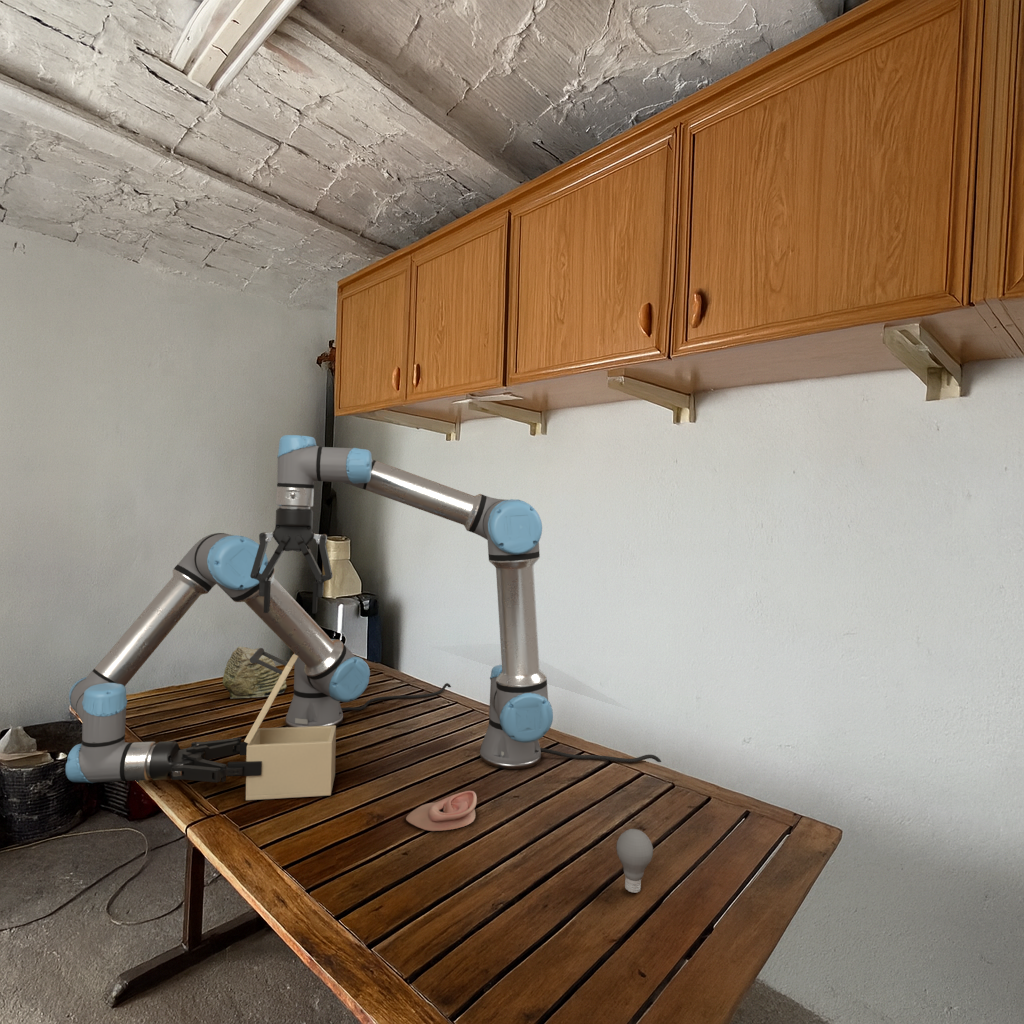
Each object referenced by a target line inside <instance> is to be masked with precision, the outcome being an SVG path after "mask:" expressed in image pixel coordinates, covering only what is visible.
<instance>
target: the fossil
mask: <svg viewBox="0 0 1024 1024" xmlns="http://www.w3.org/2000/svg"><path fill="white" fill-rule="evenodd" d="M259 648H260V647H258V648H251V647H247V646H246V647H245V646H238V647H237V648H236V649H235V650H233V651H232V653H231V656H230V657H229V659H228V660H227V663H226V666H225V668H224V671H223V675H222V676H223V677H222V685H223V687H224V688H225V690H226V691H228V693H229V698H230V699H250V698H264V697H269V695H270V694H271V692H272V690H273V688H274V686H275V685H276V683H277V681H278V679H279V677H280V676H281V674H279V673H277V672H275V671H272V670H270V669H268V668H266V667H264V666H262V665H260V664H257V663H251V662H250V658H251V657H252V656H253V654H254V653H255V652H256V651H257V650H258V649H259ZM259 660H261V661H263V662H265V663H268V664H270V665H272V666H274V667H276V668H277V665H276V663H275V661H274V660H272V659H270V658H268V657H266V656H263V655H262V656H261V657H260V658H259ZM287 687H288V686H287V680H285V681H284V683H283V685H282V687H281V689H280V691H279V692H278V694H277V695H281V694H284V693H285V691H286V689H287Z"/></svg>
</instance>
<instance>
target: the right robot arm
mask: <svg viewBox="0 0 1024 1024" xmlns="http://www.w3.org/2000/svg"><path fill="white" fill-rule="evenodd" d="M278 443H279V444H278V453H277V475H276V476H277V477H276V479H277V481H276V502H275V503H276V506H278V507H277V508H276V510H275V526H274V530H273V532H266V531H263V532H261V533H259V534H258V540H259V543H258V544H259V548H258V551H257V554H256V558H255V561H254V565H253V568H252V571H251V575H250V577H251V578H252V579H256V580H258V581H259V595H260V597H264V613H268V612H269V611H270V589H271V581H267V579H268V576H269V575H270V573H271V571H272V570H273V568H275V566H276V565H277V563H278V561H279V559H280V558H281V556H282V554H283V553H284V552H291V551H292V552H293V551H294V552H302V554H303V556H304V558H305V560H306V562H307V563H308V566H309V568H310V570H311V572H312V574H313V576H314V578H315V581H314V582H313V585H312V610H311V611H312V612H311V614H317V612H318V606H319V605H318V604H319V603H318V602H319V598H323V595H324V584H325V582H326V581H330V580H332V578H333V571H332V565H331V562H330V557H329V552H328V547H327V541H328V535H327V534H326V533H323V534H319V533H315V532H314V529H313V523H314V522H313V521H314V520H313V519H314V511H313V509H311V508H312V507H314V496H315V482H327V483H329V482H330V483H342V484H346V485H349V486H352V487H355V488H359V489H361V490H365V491H366V492H370V493H373V494H376V495H378V496H380V497H381V496H382V497H384V498H387V499H390V500H392V501H395V502H398V503H401V504H404V505H406V506H409V507H412V508H415V509H418V510H421V511H423V512H426V513H429V514H431V515H435V516H437V517H440V518H443V519H446V520H448V521H451V522H453V523H457V524H460V525H462V526H464V528H465V530H466V531H467V532H470V533H473V534H475V535H476V536H480V537H481V538H483V539H484V540H487V554H488V562H489V563H490V564H491V565H493V566H494V568H495V574H496V575H495V576H496V577H495V578H496V590H497V591H496V593H497V610H498V626H499V640H500V641H499V642H500V659H501V664H498V665H494V666H493V667H492V668H491V670H490V677H489V681H490V685H489V686H490V687H489V688H490V689H489V708H488V711H489V712H488V725H487V729H486V732H485V734H484V737H483V740H482V742H481V745H480V751H479V757H480V759H481V761H482V762H484V763H485V764H487V765H488V766H491V767H494V768H498V769H503V770H524V769H529V768H532V767H534V766H537V765H538V764H539V763H540V762H541V760H542V753H544V754H549V755H554V756H559V757H563V758H567V759H574V760H576V759H577V760H603V761H611V762H618V763H631V764H632V763H638V762H642V761H644V760H649V759H652V760H654V761H656V762H657V763H662V760H661V759H660V757H658V756H656V755H655V754H650V753H649V754H644V755H640V756H638V757H633V758H625V757H616V756H610V755H599V754H598V755H597V754H574V753H573V754H571V753H566V752H562V751H559V750H554V749H549V748H544V747H541V745H540V741H539V740H540V739H542V738H543V737H544V736H545V735H546V734H547V733H548V732H549V730H550V729H551V727H552V725H553V721H554V712H553V707H552V703H550V701H549V695H548V694H549V693H548V677H547V674H546V673H545V672H543V671H542V670H541V668H540V656H539V655H540V653H539V637H538V636H539V635H538V618H537V617H538V616H537V603H536V600H537V599H536V586H535V585H536V583H535V568H534V566H535V565H536V563H537V562H538V561H539V560H540V558H541V556H540V555H541V554H540V540H541V538H542V534H543V533H542V532H543V523H542V519H541V517H540V515H539V513H538V511H537V510H536V509H535V508H534V507H533V506H532V505H531V504H530V503H528V502H527V501H524V500H521V499H513V498H510V499H504V498H503V499H502V498H497V497H490V496H488V495H485V494H483V493H478V494H476V495H472V494H470V493H467V492H464V491H461V490H458V489H456V488H454V487H450V486H447V485H445V484H442V483H439V482H437V481H433V480H432V479H429V478H426V477H423V476H420V475H417V474H415V473H412V472H409V471H406V470H404V469H400V468H399V467H398V468H397V467H395V466H393V465H390V464H388V463H384V462H381V461H379V460H376V459H372V458H373V456H372V452H371V451H370V450H368V449H365V448H358V447H334V446H333V447H329V446H320V445H317V442H316V438H315V437H313V436H309V435H299V434H284V435H282V436H281V437H280V439H279V441H278ZM272 538H273V539H274V541H275V542H276V543H277V544H278V545H277V547H276V549H275V550H274V552H273V554H272V556H271V557H270V559H269V560H268V561H269V563H268V564H267V566H266V568H265V569H264V571H263V573H262V574H260V573H259V572H260V568H261V565H262V562H263V558H264V555H265V553H266V551H267V548H268V543H270V542H271V541H272ZM313 540H315V542H316V543H315V544H317V545H318V547H319V553H320V557H321V562H322V566H323V572H324V574H323V573H322V571H321V569H320V567H319V565H318V563H317V561H316V559H315V557H314V555H313V553H312V550H311V548H310V546H309V545H310V544H311V542H312V541H313Z"/></svg>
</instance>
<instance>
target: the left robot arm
mask: <svg viewBox="0 0 1024 1024" xmlns="http://www.w3.org/2000/svg"><path fill="white" fill-rule="evenodd" d="M259 544H260V543H258V542H257V541H255V540H254V539H251V538H250V537H247V536H244V535H235V534H229V533H225V532H215V533H211V534H207V535H205V536H203V537H202V538H201V539H199V540H198V541H197V542H196V543H195V544H193V546H192V547H190V549H189V550H188V551H187V552H186V554H185V555H184V556H183V558H181V559H180V561H179V562H178V563H177V565H175V566H174V568H173V569H172V577H171V578H170V580H168V582H167V583H166V584H165V585H164V587H162V589H161V590H160V591H159V592H158V593H157V594H156V595H155V597H154V598H153V599H152V600H151V602H150V603H149V604H148V605H147V606H146V608H145V609H144V610H143V611H142V612H141V613H140V614H139V616H138V617H137V618H136V619H135V621H133V623H131V625H130V626H129V627H128V628H127V630H126V631H125V632H124V633H123V634H122V636H121V637H120V638H119V639H118V641H117V642H115V644H114V645H113V646H112V647H111V648H110V650H109V651H108V652H107V653H106V654H105V655H104V656H103V658H102V659H101V660H100V662H99V663H98V664H97V665H96V666H95V667H94V668H93V670H91V671H90V673H89V674H88V675H87V676H85V677H82V678H80V679H79V680H77V681H75V682H74V683H73V684H72V686H71V687H70V689H69V692H68V700H69V704H70V708H71V709H72V710H73V711H75V713H76V714H77V716H78V718H79V719H80V721H81V724H82V725H81V726H82V727H81V730H82V731H81V734H82V735H81V743H78V744H76V745H74V746H73V747H72V748H71V749H70V751H69V753H68V754H67V758H66V759H67V761H66V763H65V776H66V778H67V779H68V780H69V781H70V782H72V783H89V784H96V783H113V782H115V783H116V782H132V781H133V782H135V783H141V782H142V781H150V780H152V781H170V780H172V781H179V780H186V781H197V782H205V783H206V782H208V783H225V782H226V781H227V777H228V778H229V777H230V778H231V777H246V776H261V771H262V761H248V762H246V761H228V762H227V764H226V763H221V762H217V761H213V760H215V759H219V758H223V757H230V756H233V755H237V754H239V756H246V753H247V745H248V743H246V742H244V741H242V737H239V736H238V737H235V738H226V739H217V740H209V741H193V742H191V744H190V746H189V747H187V748H181V747H180V744H179V743H178V742H177V741H173V740H172V741H159V742H156V741H134V742H133V741H132V742H131V741H130V742H127V741H126V720H127V704H128V698H127V687H126V685H128V683H129V682H130V681H131V680H132V678H133V677H134V676H135V675H136V674H137V672H138V671H139V670H140V669H141V668H142V667H143V665H144V664H145V663H146V662H147V660H148V659H149V658H150V657H151V656H152V654H153V653H154V652H155V651H156V650H157V648H158V647H159V646H160V645H161V644H162V642H163V641H164V640H165V639H166V637H167V636H168V635H169V634H170V633H171V632H172V630H173V629H174V628H175V627H176V625H178V623H179V622H180V621H181V620H182V618H184V616H185V615H186V613H187V612H188V611H189V610H190V608H192V606H193V605H194V604H195V603H196V602H197V600H198V599H199V598H200V597H201V596H202V595H206V594H209V593H210V591H211V590H212V589H213V588H214V587H215V586H216V585H217V586H218V587H219V588H220V589H221V590H222V591H223V592H224V593H225V594H226V595H227V596H228V597H229V598H230V599H231V600H232V601H233V602H234V603H245V605H247V607H249V609H251V610H252V611H253V612H254V613H255V615H256V616H257V617H258V618H259V619H260V620H262V622H263V623H264V624H265V625H266V626H267V627H268V628H269V629H270V630H271V631H272V632H273V633H274V634H275V635H276V636H277V637H278V638H279V639H280V640H281V641H282V643H284V644H285V645H286V646H287V647H288V648H289V649H290V650H291V652H293V654H295V655H297V656H298V658H297V660H296V662H295V663H294V666H293V667H294V672H293V695H292V696H293V697H292V699H291V702H290V704H289V708H288V711H287V713H286V715H285V727H308V726H334V725H336V728H337V727H339V726H340V725H342V723H343V722H344V714H343V712H346V711H361V710H362V711H363V710H364V709H367V707H368V705H369V704H371V703H373V702H377V701H378V702H379V701H383V700H384V701H385V700H394V699H395V700H396V699H419V698H429V697H433V696H437V695H440V694H442V693H443V692H444V691H445V689H446V688H451V687H452V685H451V684H450V683H448V682H445V683H444V685H443V686H442V687H441V688H440V689H439V690H438V691H434V692H431V693H430V692H429V693H423V694H412V695H411V694H410V695H409V694H408V695H407V694H405V695H402V694H401V695H400V694H399V695H388V696H379V697H373V698H371V699H368V700H367V701H365V703H364V704H363V705H361V706H357V707H354V706H353V707H352V706H350V707H349V706H348V707H347V706H346V707H342V706H341V703H350V702H353V701H355V700H357V699H358V698H359V697H361V695H362V694H363V693H364V692H365V691H366V690H367V688H368V685H369V683H370V676H371V670H370V667H369V665H368V663H367V662H366V661H365V660H364V659H363V658H361V657H359V656H356V655H355V654H354V653H353V652H352V651H351V650H350V649H349V648H348V647H347V646H346V645H345V643H343V641H341V639H336V638H330V637H329V635H328V634H327V633H326V632H325V631H324V630H323V629H322V628H321V626H320V625H318V623H317V622H316V621H315V620H314V619H313V618H312V617H311V615H309V613H307V611H305V609H304V608H303V607H302V606H301V604H299V603H298V602H297V601H296V600H295V598H294V597H293V596H292V595H291V594H290V593H289V592H288V591H287V589H285V588H284V587H283V585H281V583H280V582H279V581H278V579H276V577H275V572H276V569H275V567H274V568H273V570H272V571H271V573H270V575H269V576H268V579H267V581H271V589H270V611H269V612H268V613H264V597H260V595H259V581H258V580H256V579H252V578H251V577H250V575H251V571H252V568H253V565H254V561H255V558H256V554H257V551H258V548H259ZM269 561H270V560H269V559H268V555H267V553H266V552H265V555H264V558H263V562H262V565H261V568H260V572H259V573H260V574H262V573H263V571H264V569H265V568H266V566H267V564H268V563H269Z"/></svg>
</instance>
